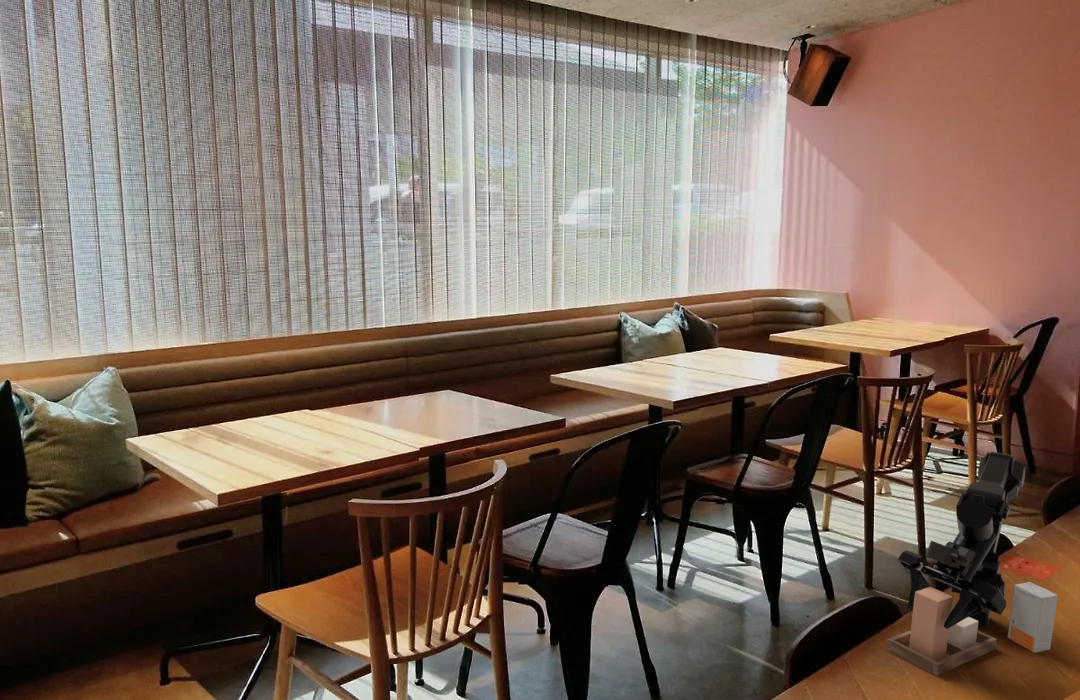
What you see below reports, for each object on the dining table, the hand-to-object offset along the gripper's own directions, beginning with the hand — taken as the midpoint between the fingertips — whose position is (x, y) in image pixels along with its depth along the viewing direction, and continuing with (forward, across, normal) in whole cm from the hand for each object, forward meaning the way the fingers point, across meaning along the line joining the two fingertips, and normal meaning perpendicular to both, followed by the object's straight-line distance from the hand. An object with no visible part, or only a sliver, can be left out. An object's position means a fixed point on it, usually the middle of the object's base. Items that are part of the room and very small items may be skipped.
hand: (926, 618), depth 151 cm
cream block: (-2, 0, +12) cm, 13 cm away
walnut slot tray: (+2, 0, +10) cm, 10 cm away
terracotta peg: (+4, 0, +6) cm, 8 cm away
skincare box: (-10, +7, +22) cm, 25 cm away
